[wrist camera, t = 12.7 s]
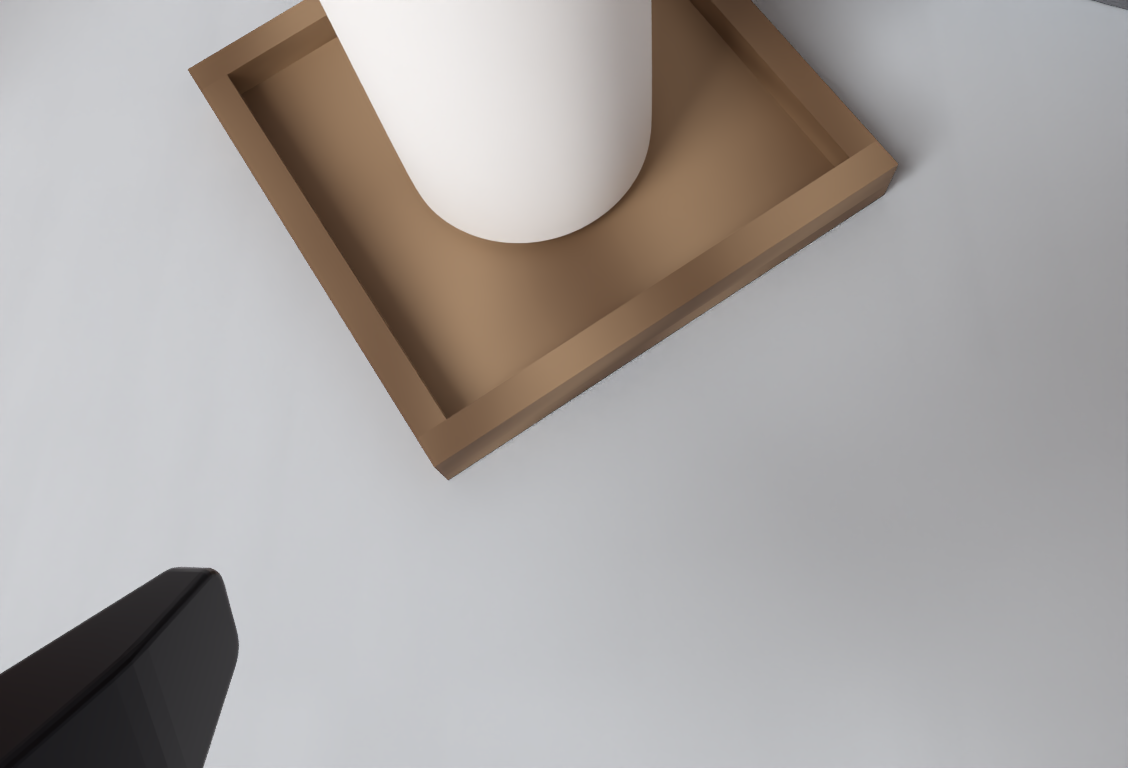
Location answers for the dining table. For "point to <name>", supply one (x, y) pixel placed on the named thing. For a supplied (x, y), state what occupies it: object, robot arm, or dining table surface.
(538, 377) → the walnut tray
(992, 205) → the dining table surface
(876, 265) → the dining table surface
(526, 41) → the can
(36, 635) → the dining table surface
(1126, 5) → the iron block
